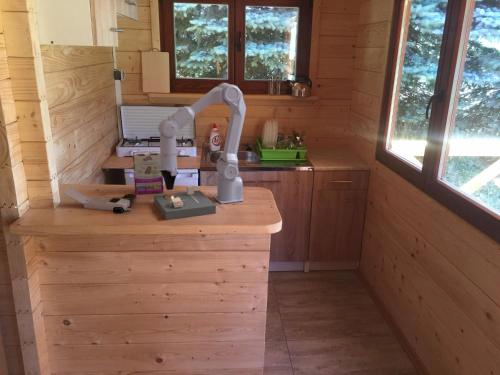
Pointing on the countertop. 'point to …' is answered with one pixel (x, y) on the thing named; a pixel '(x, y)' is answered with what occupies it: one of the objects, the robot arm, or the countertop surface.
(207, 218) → the countertop surface
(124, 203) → the white long dark-ended device
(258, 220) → the countertop surface
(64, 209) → the countertop surface
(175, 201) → the rocker switch
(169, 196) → the push button
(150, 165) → the candy bar box
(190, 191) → the tan rectangular block
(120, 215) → the countertop surface
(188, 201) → the panel
